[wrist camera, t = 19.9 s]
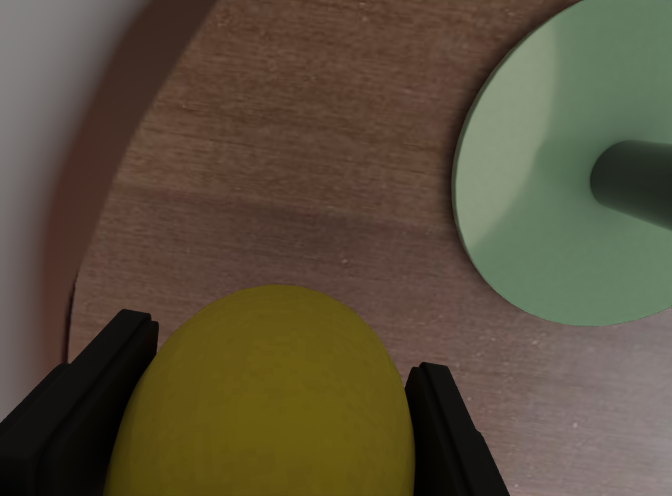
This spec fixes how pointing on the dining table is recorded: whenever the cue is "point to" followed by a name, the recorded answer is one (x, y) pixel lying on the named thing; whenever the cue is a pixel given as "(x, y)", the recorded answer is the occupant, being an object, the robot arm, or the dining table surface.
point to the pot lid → (574, 167)
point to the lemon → (267, 405)
